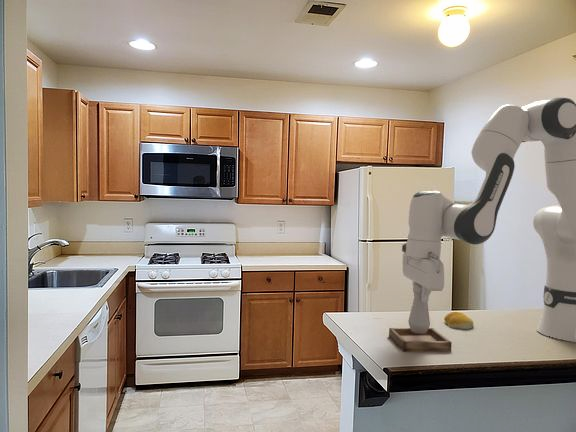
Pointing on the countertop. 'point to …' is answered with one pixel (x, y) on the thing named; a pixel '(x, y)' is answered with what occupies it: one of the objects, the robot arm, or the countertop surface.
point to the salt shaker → (419, 312)
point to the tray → (419, 340)
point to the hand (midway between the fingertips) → (420, 299)
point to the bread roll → (458, 320)
